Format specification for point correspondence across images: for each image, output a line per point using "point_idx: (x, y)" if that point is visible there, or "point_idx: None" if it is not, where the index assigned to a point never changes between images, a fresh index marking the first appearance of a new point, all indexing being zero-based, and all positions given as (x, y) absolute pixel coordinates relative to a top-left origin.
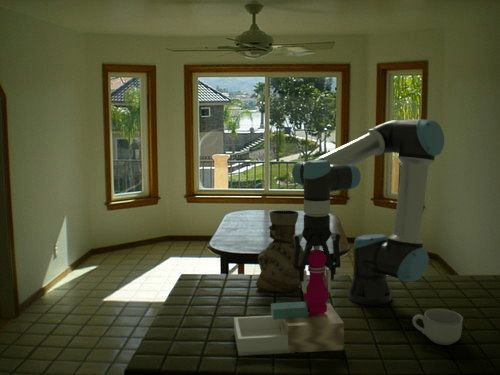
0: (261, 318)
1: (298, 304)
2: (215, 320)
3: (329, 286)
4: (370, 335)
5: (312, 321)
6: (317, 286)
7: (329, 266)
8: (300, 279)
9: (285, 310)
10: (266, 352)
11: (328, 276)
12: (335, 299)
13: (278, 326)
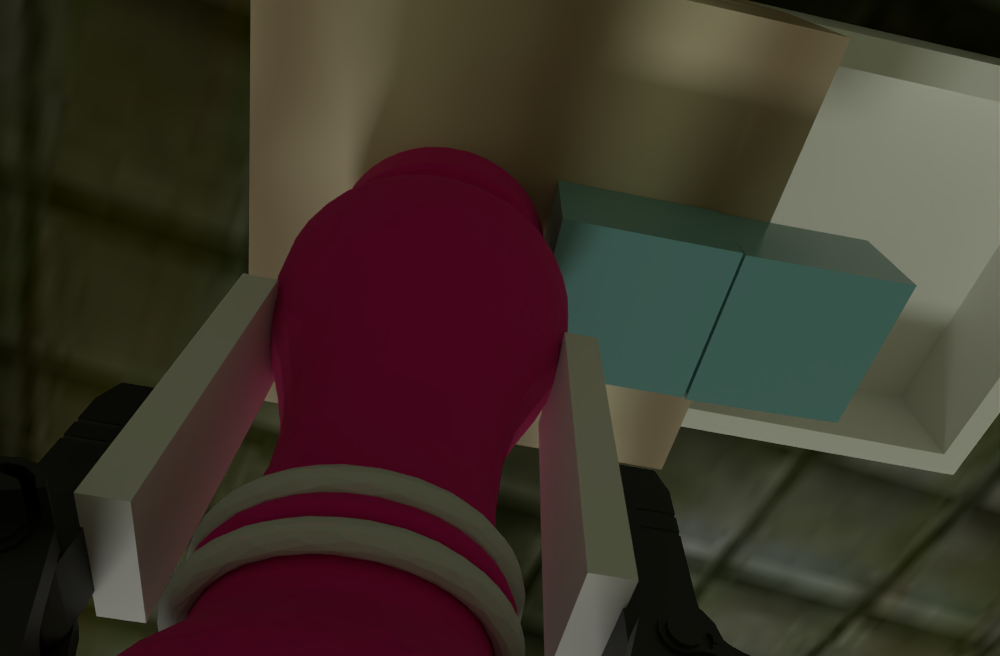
0: (781, 419)
1: (613, 321)
2: (890, 563)
3: (230, 315)
4: (48, 93)
5: (559, 67)
6: (427, 319)
7: (56, 607)
8: (658, 493)
9: (789, 255)
10: (923, 41)
11: (180, 415)
12: (157, 601)
13: None
